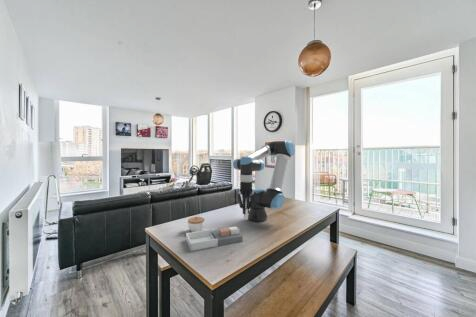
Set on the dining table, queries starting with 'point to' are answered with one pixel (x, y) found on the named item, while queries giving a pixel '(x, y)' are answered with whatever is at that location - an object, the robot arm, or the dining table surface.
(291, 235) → the dining table surface
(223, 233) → the tile
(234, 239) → the board
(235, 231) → the tile
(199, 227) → the lidded jar
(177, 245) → the dining table surface
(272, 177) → the robot arm
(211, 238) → the tray
